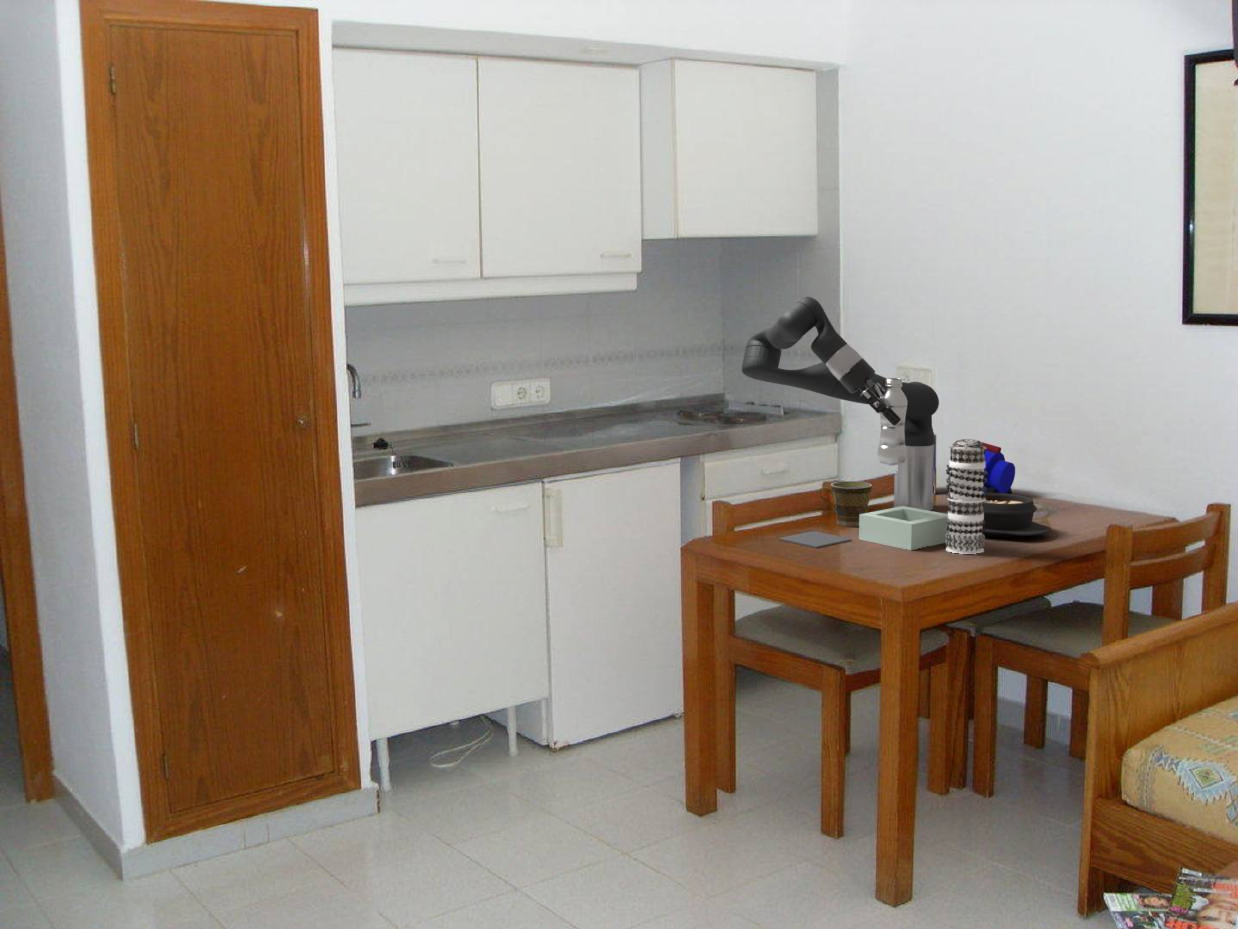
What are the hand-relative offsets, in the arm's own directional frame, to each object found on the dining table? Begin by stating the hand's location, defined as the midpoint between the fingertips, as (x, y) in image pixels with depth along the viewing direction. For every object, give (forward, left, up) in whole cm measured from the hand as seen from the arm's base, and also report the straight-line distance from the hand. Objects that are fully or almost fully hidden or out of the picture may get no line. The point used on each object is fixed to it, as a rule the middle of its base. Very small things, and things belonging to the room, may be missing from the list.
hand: (900, 420), depth 298 cm
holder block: (0, +3, -28) cm, 28 cm away
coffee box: (-38, +54, -29) cm, 72 cm away
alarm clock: (-22, +64, -29) cm, 73 cm away
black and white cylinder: (+16, +4, -29) cm, 33 cm away
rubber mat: (-14, -13, -28) cm, 34 cm away
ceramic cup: (-22, +6, -29) cm, 36 cm away
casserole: (+9, +26, -29) cm, 40 cm away
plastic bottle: (-2, -1, -11) cm, 11 cm away
